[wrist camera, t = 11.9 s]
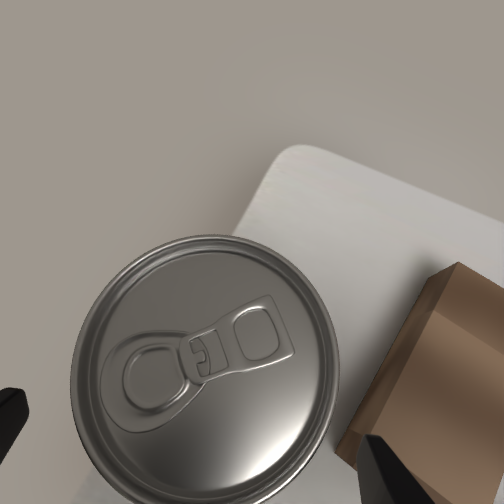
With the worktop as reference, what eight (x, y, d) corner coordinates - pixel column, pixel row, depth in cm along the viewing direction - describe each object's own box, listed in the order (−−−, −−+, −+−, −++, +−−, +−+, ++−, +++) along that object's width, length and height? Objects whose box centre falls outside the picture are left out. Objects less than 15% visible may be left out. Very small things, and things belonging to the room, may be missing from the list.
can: (161, 336, 18) (28, 270, 7) (261, 297, 19) (285, 185, 8) (194, 455, 16) (75, 637, 5) (306, 404, 17) (423, 454, 6)
